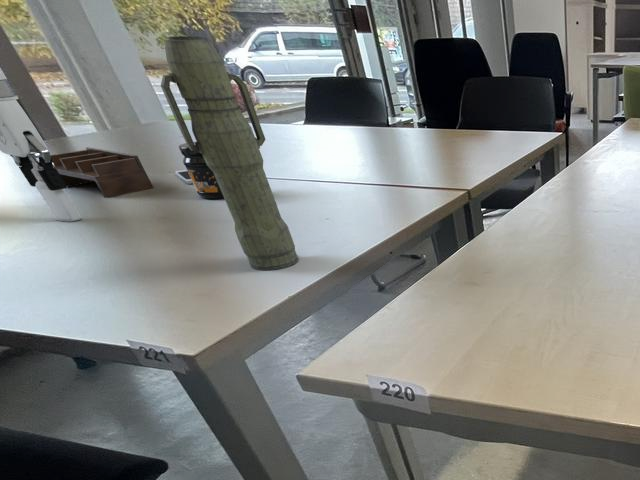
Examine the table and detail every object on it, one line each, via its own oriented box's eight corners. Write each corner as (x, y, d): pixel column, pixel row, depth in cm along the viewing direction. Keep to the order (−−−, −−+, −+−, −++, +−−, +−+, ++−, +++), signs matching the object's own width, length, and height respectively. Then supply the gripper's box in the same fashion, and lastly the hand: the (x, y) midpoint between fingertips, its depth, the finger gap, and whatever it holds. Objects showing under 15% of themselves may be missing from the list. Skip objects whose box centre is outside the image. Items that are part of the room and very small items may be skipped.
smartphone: (202, 171, 157) (201, 167, 157) (216, 180, 149) (214, 176, 148) (176, 174, 153) (174, 170, 153) (188, 184, 145) (186, 180, 144)
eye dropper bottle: (59, 224, 116) (21, 165, 109) (56, 218, 119) (19, 161, 112) (83, 220, 119) (48, 162, 111) (79, 215, 122) (45, 158, 114)
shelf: (106, 197, 133) (87, 163, 128) (58, 187, 140) (37, 154, 135) (153, 187, 142) (137, 155, 137) (105, 178, 149) (88, 147, 144)
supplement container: (189, 198, 135) (165, 146, 127) (221, 188, 142) (200, 139, 135) (221, 201, 133) (199, 149, 125) (252, 191, 140) (233, 142, 133)
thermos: (315, 260, 102) (238, 37, 80) (253, 276, 96) (151, 37, 73) (294, 249, 107) (216, 36, 84) (234, 264, 100) (132, 35, 77)
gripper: (-57, 90, 103) (8, 186, 115) (-12, 95, 98) (51, 196, 109) (-11, 87, 108) (47, 179, 120) (35, 92, 103) (90, 188, 115)
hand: (49, 186), depth 114 cm, fingers open, 6 cm apart
